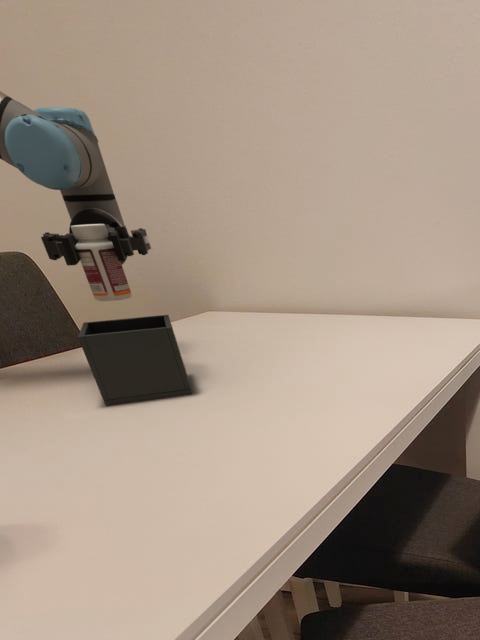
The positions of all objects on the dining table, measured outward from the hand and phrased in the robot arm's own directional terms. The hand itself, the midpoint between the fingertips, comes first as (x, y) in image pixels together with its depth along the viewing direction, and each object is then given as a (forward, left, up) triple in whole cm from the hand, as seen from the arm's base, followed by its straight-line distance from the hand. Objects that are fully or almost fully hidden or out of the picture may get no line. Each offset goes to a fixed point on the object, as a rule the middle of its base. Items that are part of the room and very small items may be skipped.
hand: (93, 249), depth 74 cm
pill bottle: (0, +5, -6) cm, 8 cm away
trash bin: (0, +4, -18) cm, 18 cm away
